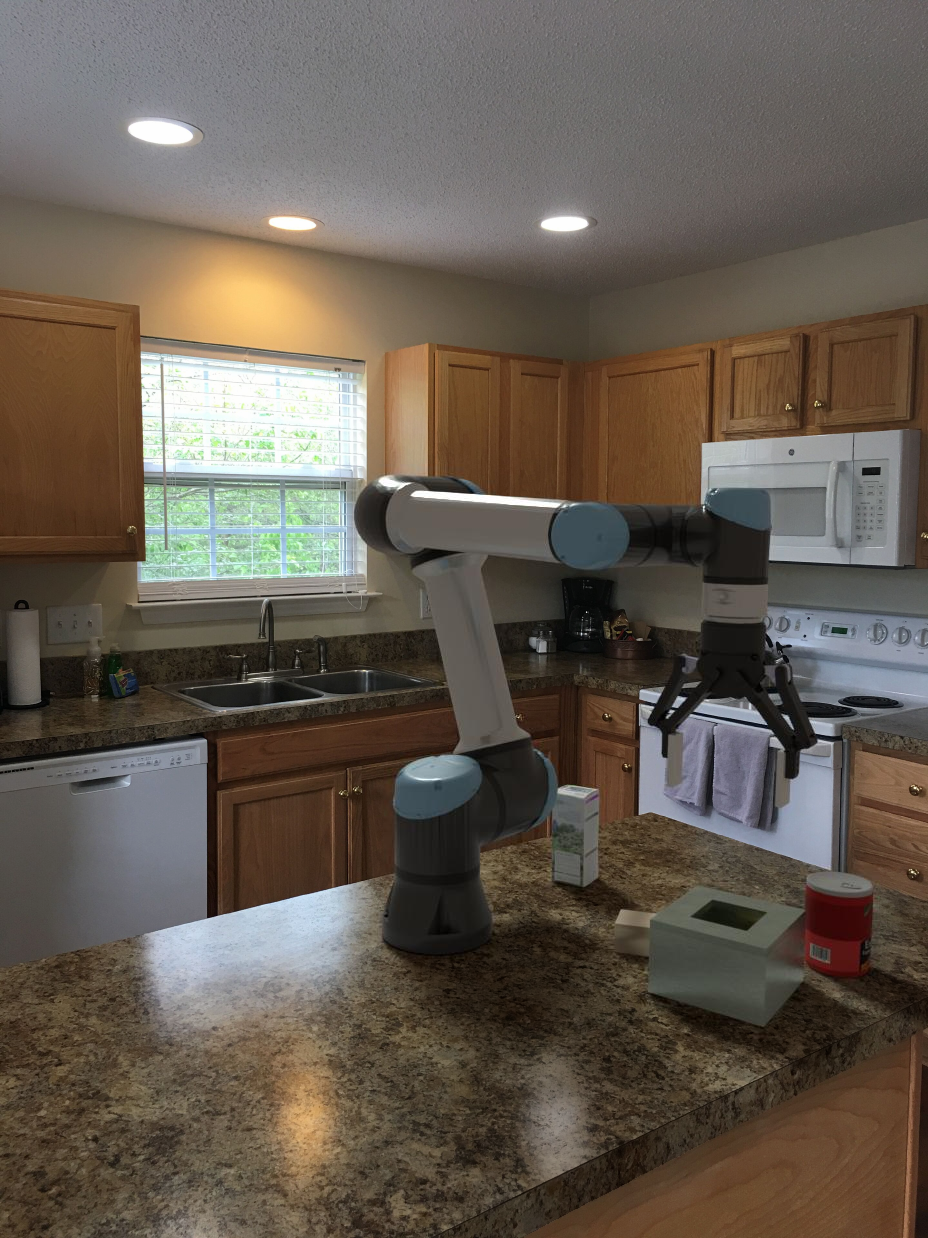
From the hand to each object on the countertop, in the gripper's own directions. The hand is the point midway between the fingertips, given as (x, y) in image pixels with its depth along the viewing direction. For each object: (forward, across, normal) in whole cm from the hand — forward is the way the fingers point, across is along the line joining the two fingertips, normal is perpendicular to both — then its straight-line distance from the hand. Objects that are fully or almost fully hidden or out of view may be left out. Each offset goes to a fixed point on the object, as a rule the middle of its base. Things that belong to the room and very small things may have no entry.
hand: (726, 794), depth 121 cm
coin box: (+23, +2, -1) cm, 23 cm away
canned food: (+23, +10, +13) cm, 29 cm away
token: (+24, -13, +3) cm, 27 cm away
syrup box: (+24, -32, +19) cm, 44 cm away
